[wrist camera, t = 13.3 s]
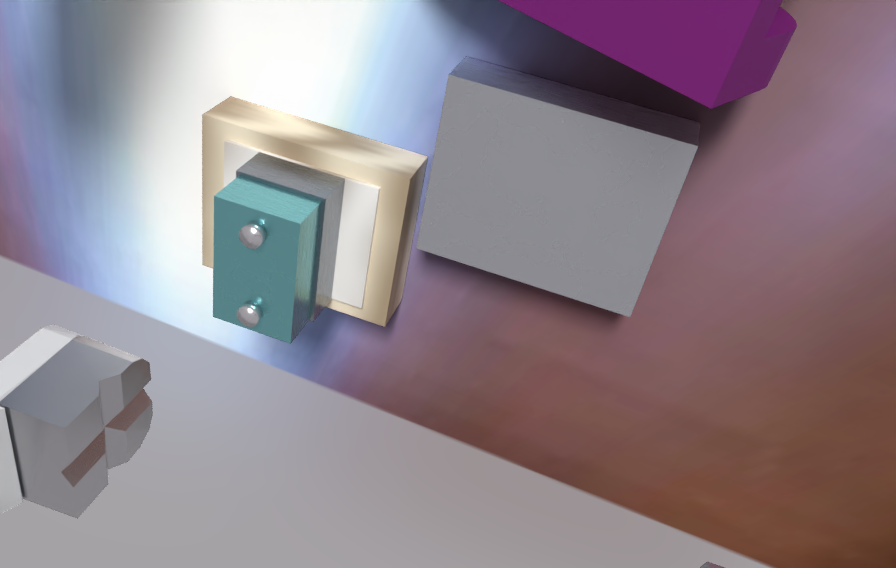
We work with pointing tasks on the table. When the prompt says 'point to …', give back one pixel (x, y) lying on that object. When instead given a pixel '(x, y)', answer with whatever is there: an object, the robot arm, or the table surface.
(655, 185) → the stand
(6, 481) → the robot arm
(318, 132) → the stand
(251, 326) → the block
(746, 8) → the mounting bracket
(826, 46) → the table surface
